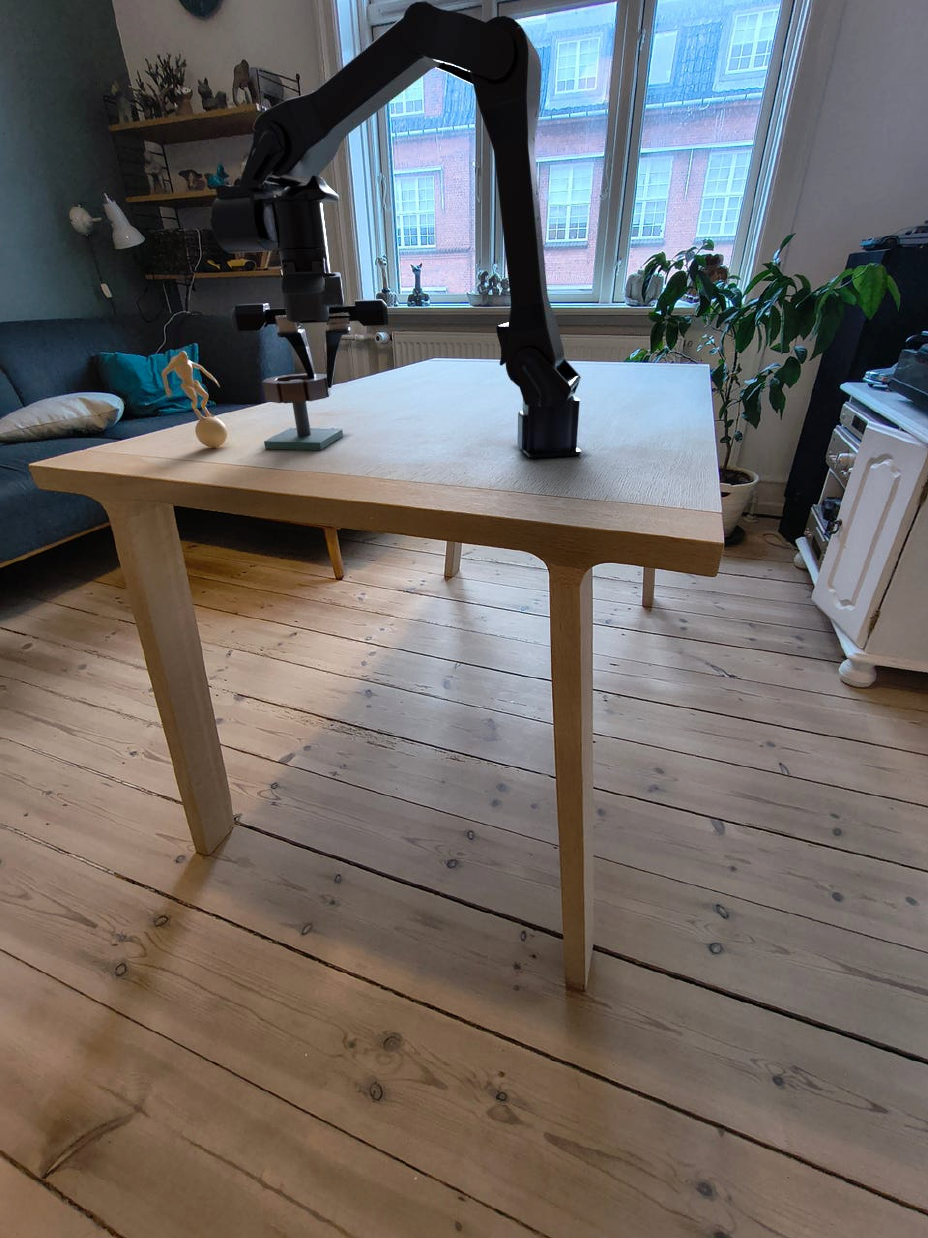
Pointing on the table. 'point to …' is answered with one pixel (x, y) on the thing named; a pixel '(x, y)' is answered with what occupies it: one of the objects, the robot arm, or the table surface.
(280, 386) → the ring
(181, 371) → the figurine
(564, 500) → the table surface
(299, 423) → the peg stand
